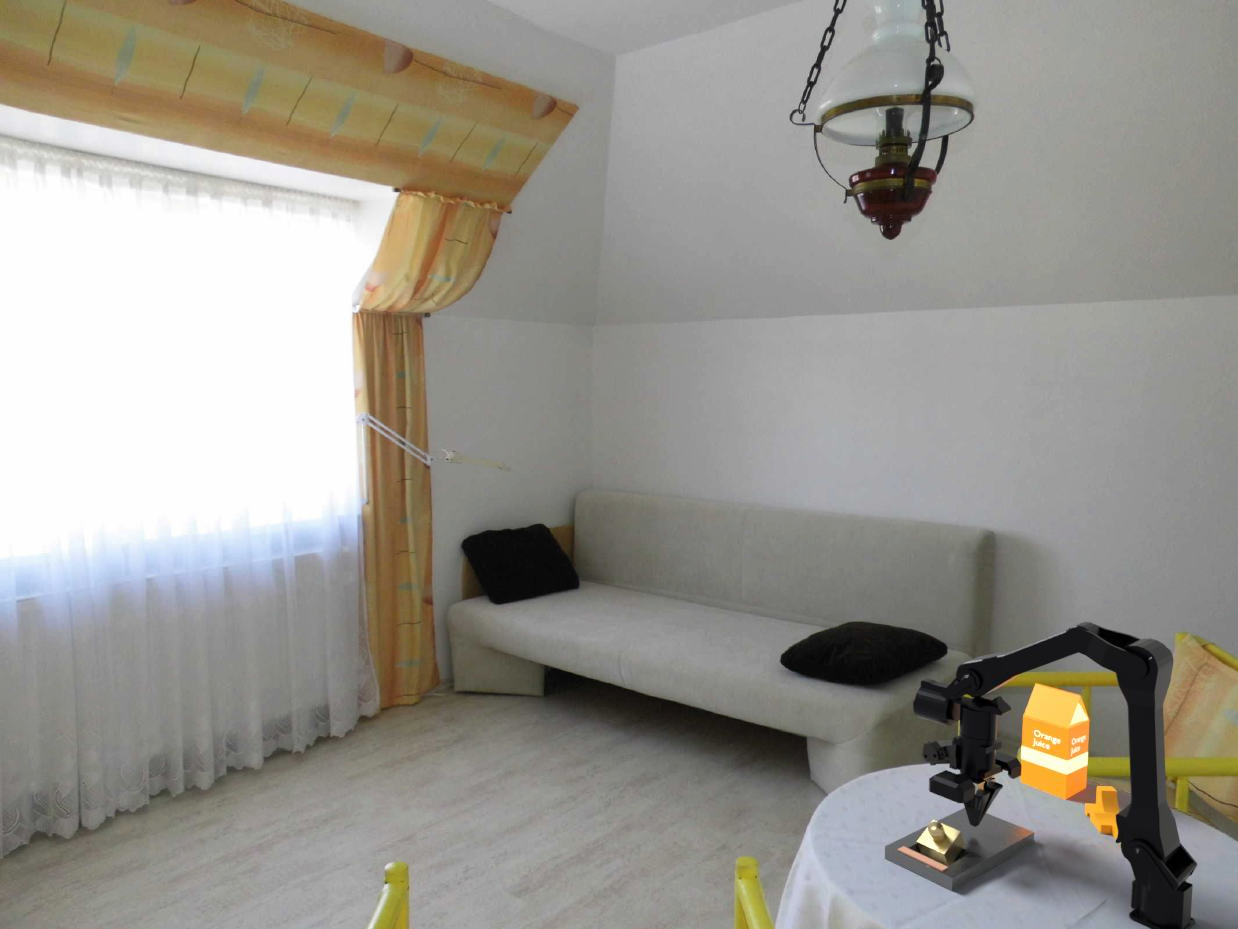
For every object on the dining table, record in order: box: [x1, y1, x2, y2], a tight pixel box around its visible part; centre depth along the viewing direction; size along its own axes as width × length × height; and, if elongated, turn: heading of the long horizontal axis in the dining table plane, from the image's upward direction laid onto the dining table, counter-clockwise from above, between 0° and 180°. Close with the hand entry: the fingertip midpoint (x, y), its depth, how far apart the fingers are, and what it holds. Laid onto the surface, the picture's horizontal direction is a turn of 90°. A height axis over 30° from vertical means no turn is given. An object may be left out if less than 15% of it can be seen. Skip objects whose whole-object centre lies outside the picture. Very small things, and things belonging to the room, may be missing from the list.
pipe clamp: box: [1084, 785, 1121, 846], centre depth 153 cm, size 12×4×6 cm, turn 174°
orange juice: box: [1019, 682, 1091, 801], centre depth 169 cm, size 8×9×20 cm
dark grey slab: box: [884, 807, 1035, 892], centre depth 148 cm, size 12×24×2 cm, turn 128°
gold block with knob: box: [917, 819, 965, 866], centre depth 145 cm, size 5×5×5 cm
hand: (974, 825), depth 150 cm, fingers closed
